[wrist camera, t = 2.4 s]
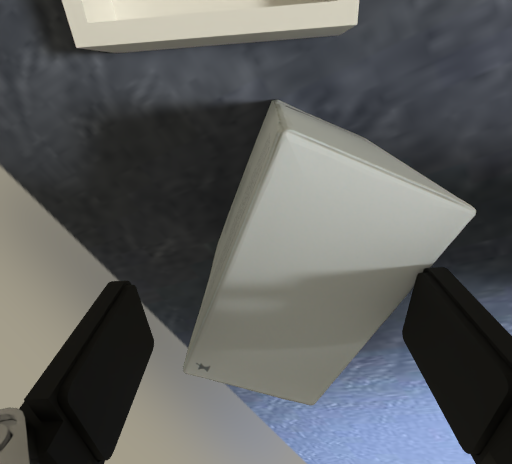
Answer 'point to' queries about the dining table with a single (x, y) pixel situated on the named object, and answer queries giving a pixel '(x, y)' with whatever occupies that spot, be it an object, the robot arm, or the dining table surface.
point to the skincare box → (314, 256)
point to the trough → (202, 22)
